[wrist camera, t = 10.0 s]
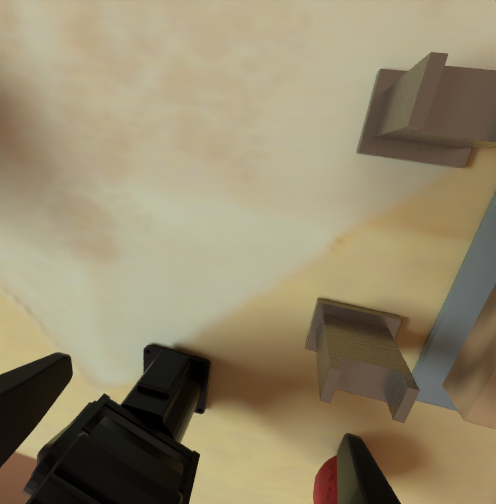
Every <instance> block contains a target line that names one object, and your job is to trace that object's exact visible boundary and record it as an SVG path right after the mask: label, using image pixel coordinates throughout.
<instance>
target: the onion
mask: <svg viewBox="0 0 496 504" xmlns="http://www.w3.org/2000/svg"><path fill="white" fill-rule="evenodd" d="M313 500H314V504H338V487H337V455H336V456H334V457H332V458H330V459H329V460H328V461H326V462H325V463H324V464H323V466H322V467H321V468H320V469H319V471H318V473H317V475H316V477H315V483H314V492H313Z"/></svg>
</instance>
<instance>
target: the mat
mask: <svg viewBox="0 0 496 504" xmlns="http://www.w3.org/2000/svg"><path fill="white" fill-rule="evenodd" d="M495 283H496V193H495V195H494V197H493V199H492V201H491V203H490V206H489V208H488V210H487V212H486V214H485V216H484V219H483V221H482V223H481V225H480V227H479V229H478V232H477V234H476V236H475V238H474V240H473V242H472V245H471V247H470V249H469V251H468V253H467V255H466V258H465V260H464V262H463V264H462V266H461V268H460V270H459V273H458V275H457V277H456V279H455V281H454V283H453V286H452V288H451V290H450V292H449V294H448V296H447V299H446V301H445V303H444V305H443V307H442V309H441V312H440V314H439V316H438V318H437V320H436V322H435V325H434V327H433V329H432V331H431V333H430V335H429V338H428V340H427V342H426V344H425V346H424V348H423V350H422V353H421V355H420V357H419V359H418V361H417V363H416V366H415V368H414V370H413V372H412V376H413V378H414V380H415V382H416V384H417V386H418V387H419V389H420V392H419V394H418V396H417V398H416V401H420V402H424V403H428V404H432V405H436V406H440V407H444V408H448V409H452V410H456V411H458V410H457V409H456V407H455V405H454V404H453V402H452V401H451V399H450V397H449V396H448V394H447V393H446V391H445V389H444V388H443V386H442V384H443V382H444V380H445V378H446V376H447V374H448V373H449V371H450V369H451V367H452V365H453V363H454V361H455V359H456V357H457V355H458V354H459V352H460V350H461V348H462V346H463V344H464V342H465V340H466V338H467V337H468V335H469V333H470V331H471V329H472V327H473V325H474V323H475V321H476V319H477V318H478V316H479V314H480V312H481V310H482V308H483V306H484V304H485V302H486V301H487V299H488V297H489V295H490V293H491V291H492V289H493V287H494V285H495Z"/></svg>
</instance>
